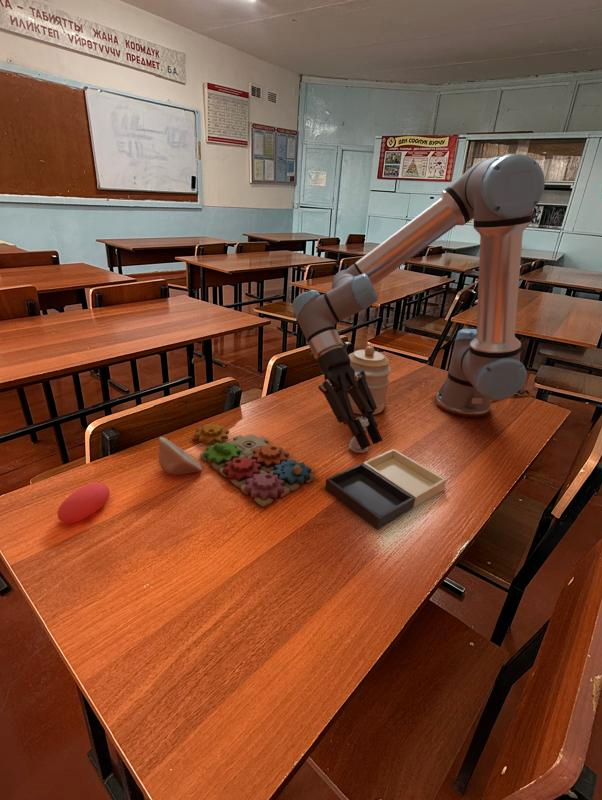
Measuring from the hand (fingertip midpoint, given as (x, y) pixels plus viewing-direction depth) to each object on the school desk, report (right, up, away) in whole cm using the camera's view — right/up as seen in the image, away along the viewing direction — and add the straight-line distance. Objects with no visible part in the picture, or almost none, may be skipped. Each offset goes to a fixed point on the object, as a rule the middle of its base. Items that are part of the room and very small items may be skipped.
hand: (372, 444), depth 98 cm
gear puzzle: (-28, -3, -3) cm, 29 cm away
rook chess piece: (-3, -2, +4) cm, 5 cm away
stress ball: (-53, -10, -22) cm, 58 cm away
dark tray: (-3, -9, -12) cm, 16 cm away
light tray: (+5, -7, -6) cm, 11 cm away
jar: (+1, +8, +26) cm, 27 cm away
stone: (-41, -4, -8) cm, 42 cm away
